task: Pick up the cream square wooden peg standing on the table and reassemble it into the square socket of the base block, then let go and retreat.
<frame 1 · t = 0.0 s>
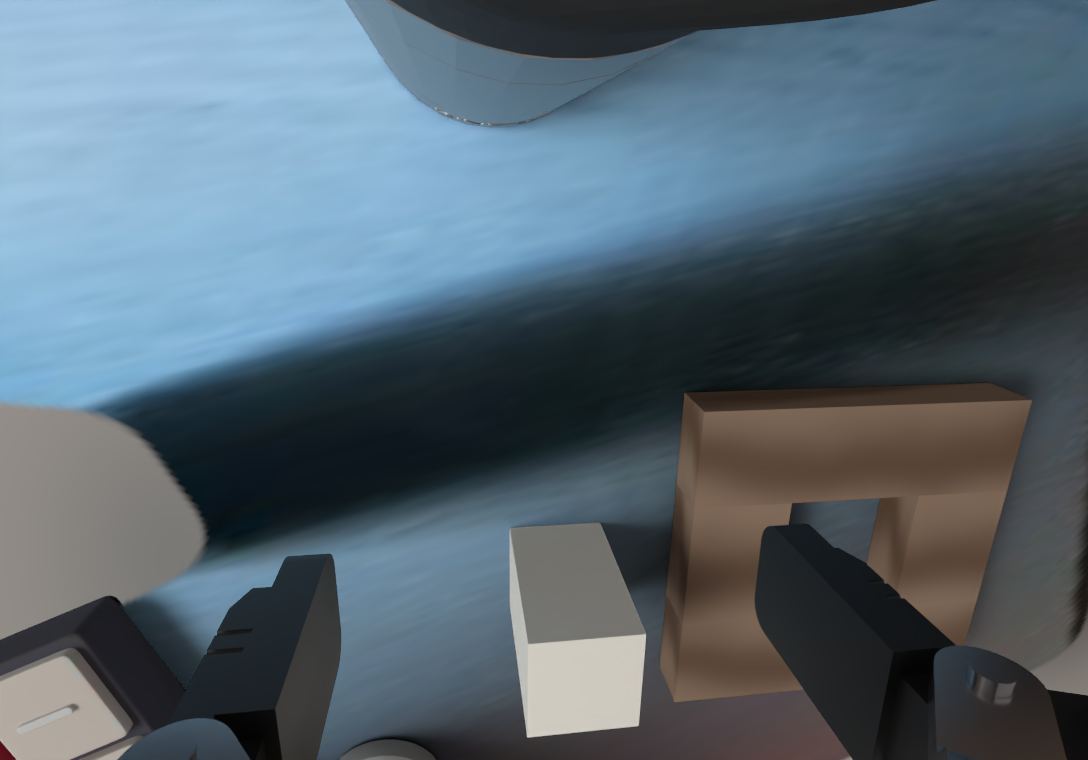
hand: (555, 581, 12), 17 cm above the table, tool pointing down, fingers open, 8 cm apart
calculator: (103, 739, 32), on the table
peg: (554, 564, 32), on the table
socket base: (817, 530, 34), on the table
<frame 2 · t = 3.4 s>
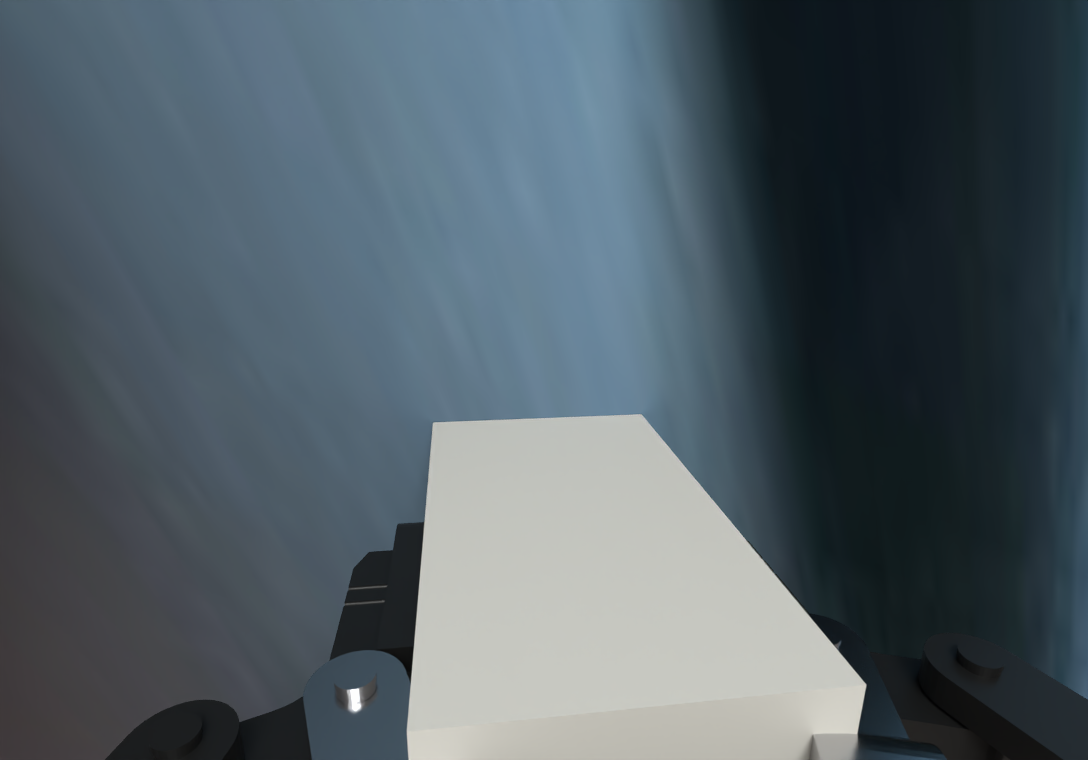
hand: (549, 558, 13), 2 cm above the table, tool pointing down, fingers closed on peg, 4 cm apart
peg: (538, 512, 14), on the table, touching gripper
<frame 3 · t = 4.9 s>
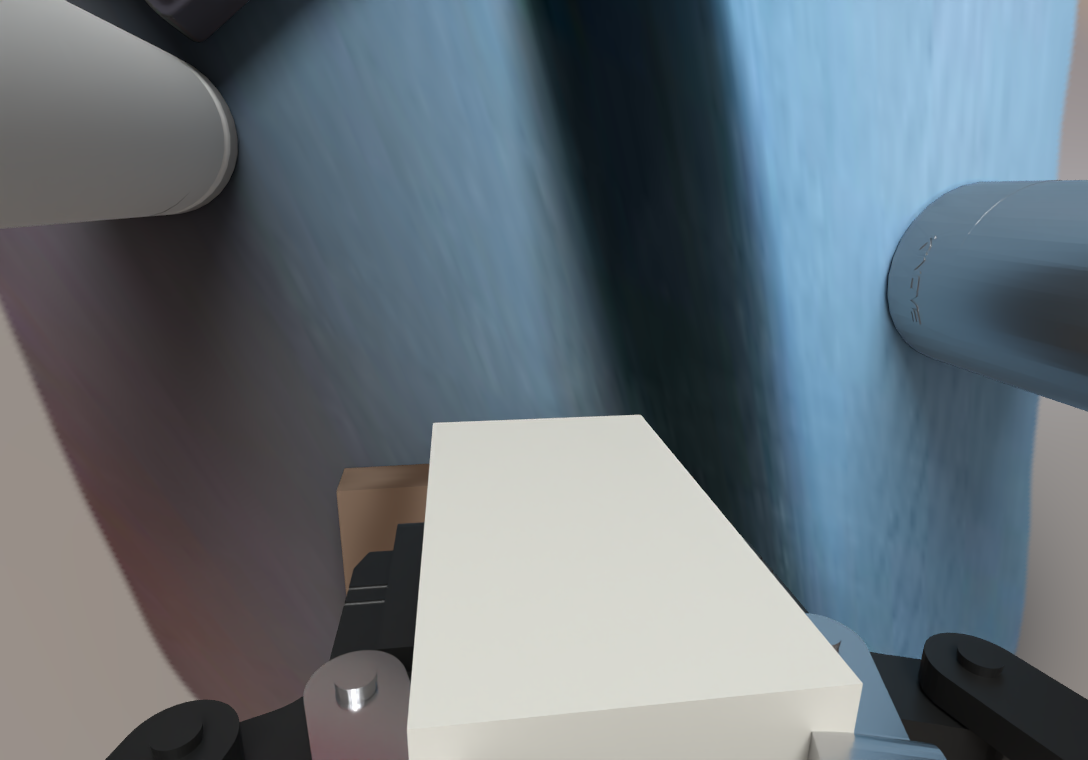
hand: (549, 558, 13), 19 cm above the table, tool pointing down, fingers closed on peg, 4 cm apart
travel mug: (163, 138, 26), on the table
peg: (538, 512, 14), point 17 cm above the table, touching gripper
socket base: (509, 596, 34), on the table
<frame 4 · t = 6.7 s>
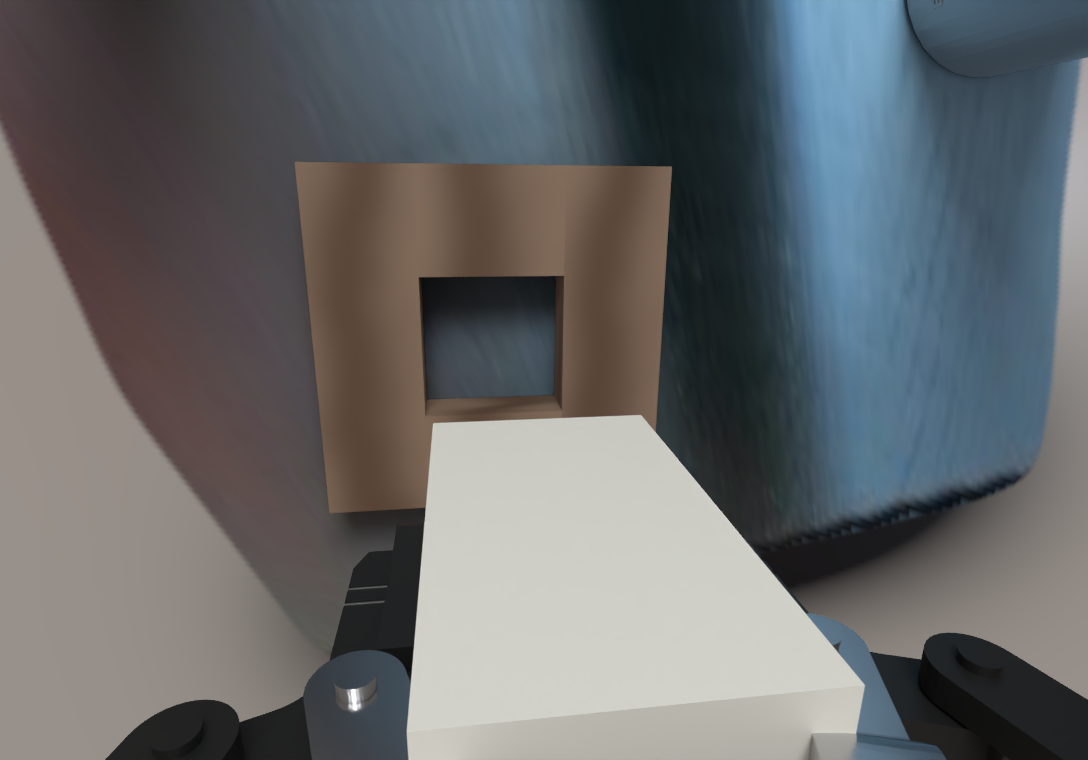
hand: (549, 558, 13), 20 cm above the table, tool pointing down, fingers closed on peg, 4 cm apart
peg: (538, 513, 14), point 18 cm above the table, touching gripper
socket base: (490, 335, 32), on the table
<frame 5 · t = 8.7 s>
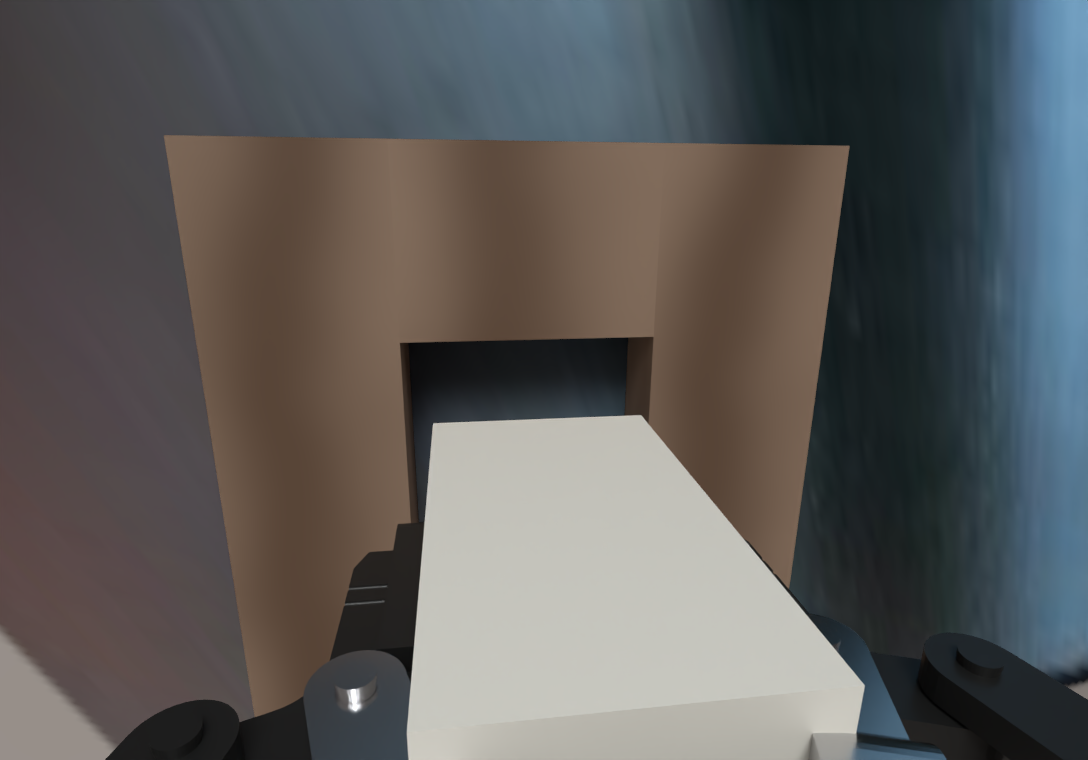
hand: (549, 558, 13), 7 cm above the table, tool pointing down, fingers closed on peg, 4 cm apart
peg: (538, 513, 14), point 5 cm above the table, touching gripper
socket base: (521, 424, 20), on the table
when the fingers open (4 cm above the table, at t = 10.4 s): peg drops 2 cm, resting in socket base.
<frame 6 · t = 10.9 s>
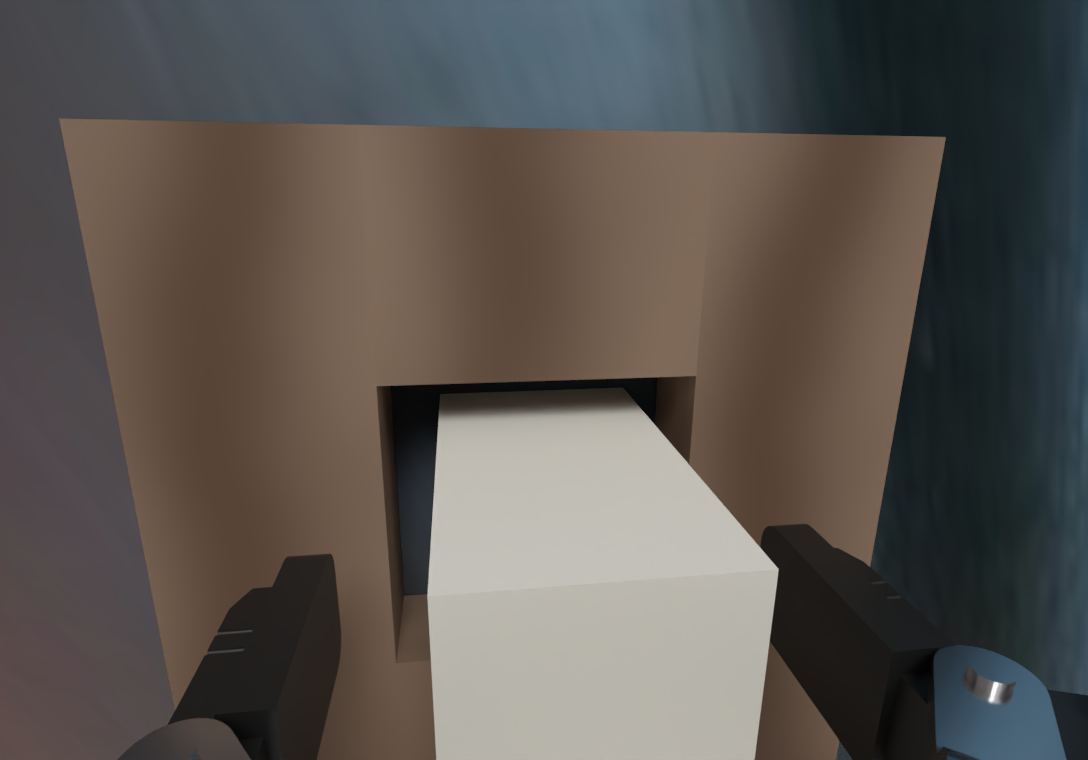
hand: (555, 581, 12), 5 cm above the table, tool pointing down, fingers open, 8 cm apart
peg: (533, 474, 16), resting in socket base
socket base: (527, 475, 16), on the table
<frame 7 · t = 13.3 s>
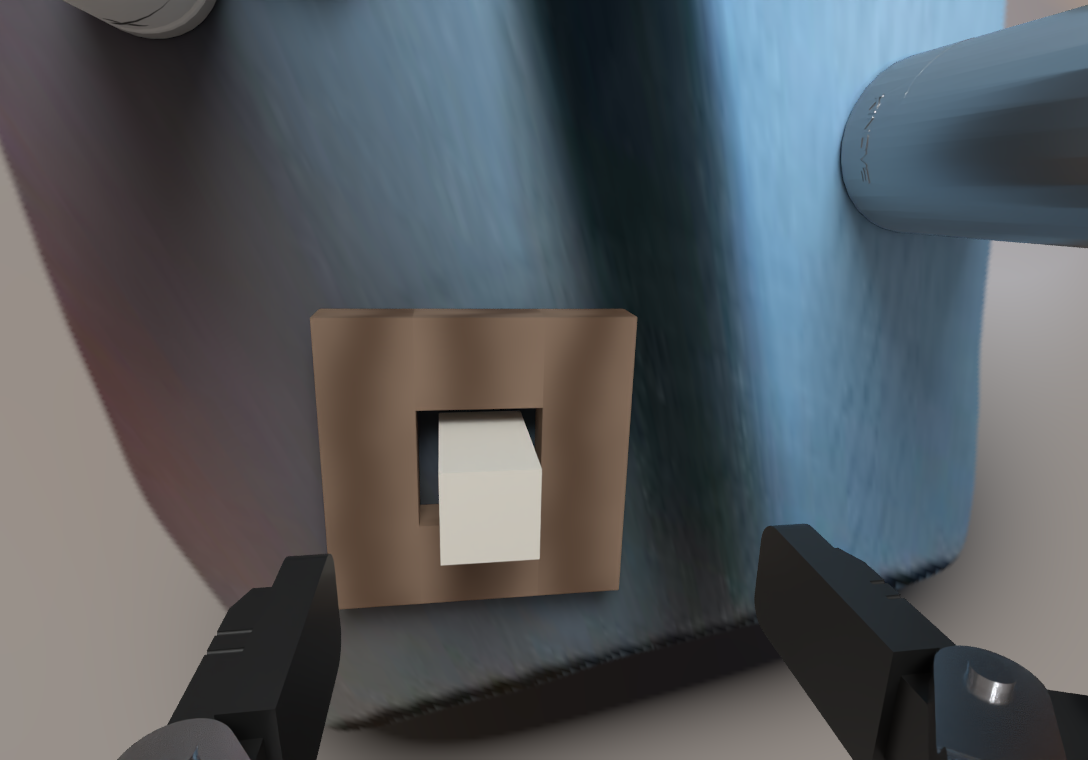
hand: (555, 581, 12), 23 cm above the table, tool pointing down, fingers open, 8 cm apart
peg: (480, 449, 36), resting in socket base
socket base: (477, 449, 36), on the table
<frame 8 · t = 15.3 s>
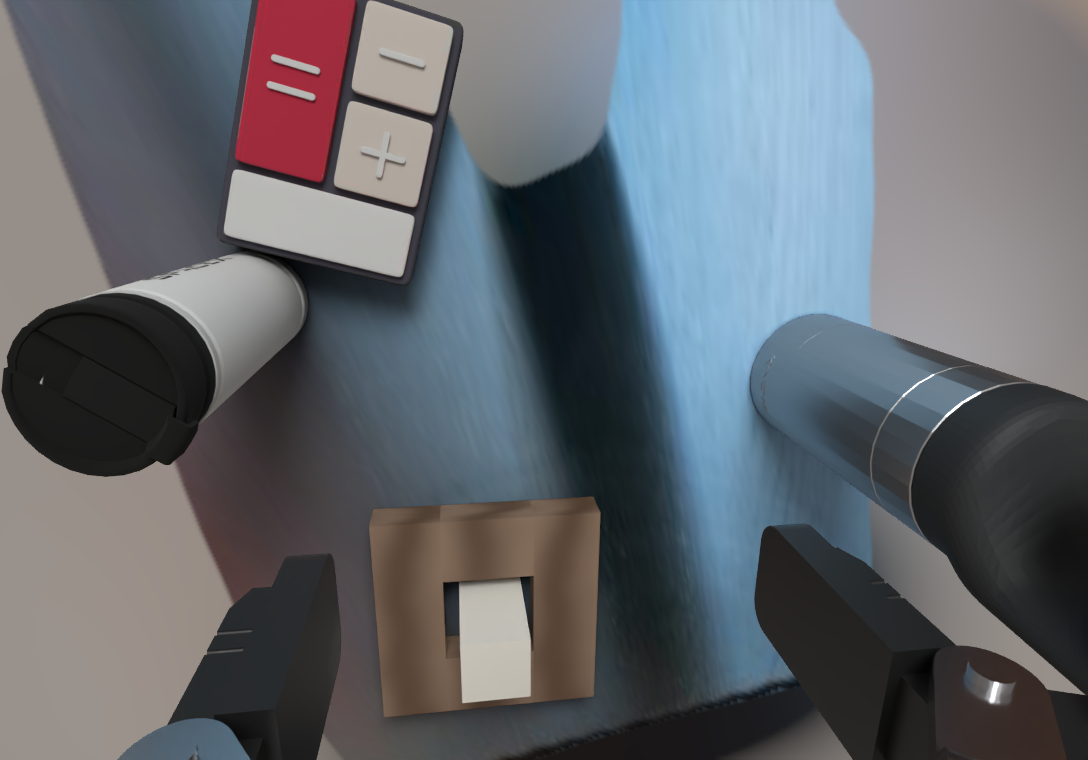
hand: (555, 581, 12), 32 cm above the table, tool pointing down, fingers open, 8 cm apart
travel mug: (261, 301, 41), on the table
calculator: (348, 139, 39), on the table
peg: (489, 596, 49), resting in socket base
socket base: (487, 596, 49), on the table
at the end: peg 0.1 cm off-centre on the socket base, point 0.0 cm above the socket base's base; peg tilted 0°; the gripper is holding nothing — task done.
